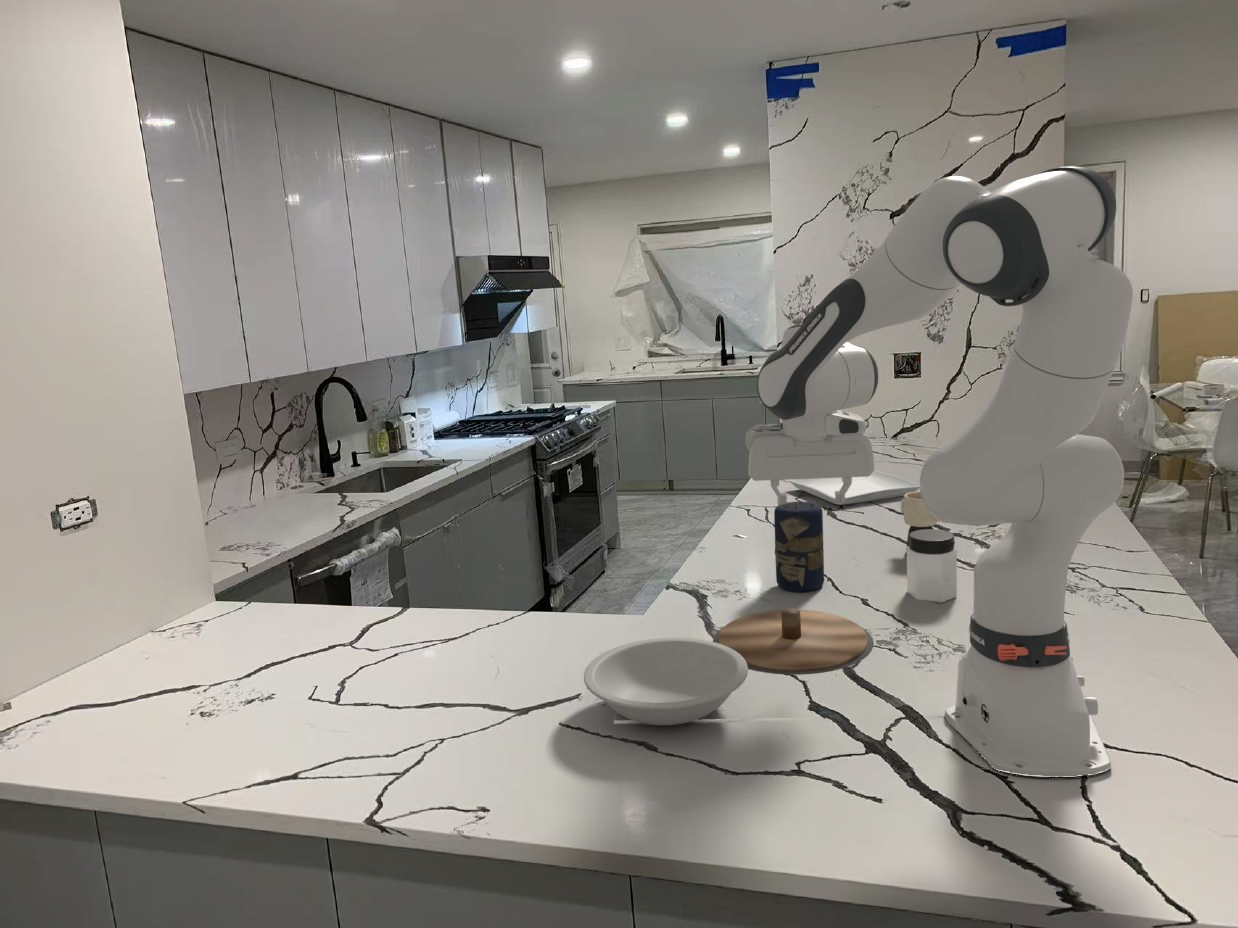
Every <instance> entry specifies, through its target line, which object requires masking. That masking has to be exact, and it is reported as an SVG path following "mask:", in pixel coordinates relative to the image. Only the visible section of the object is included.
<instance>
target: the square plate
mask: <svg viewBox="0 0 1238 928" xmlns="http://www.w3.org/2000/svg"><path fill="white" fill-rule="evenodd" d="M788 482H789V483H791V485H793V487H794V488H796V489H799V490H800V491H802V492H803V491H804V492H805V493H808V494H810V495H812V496H814V497H817V498H820V499H822V500H824V501H826V502H829V503H832V504H834V505H838V506H846V505H854V504H859V503H861V504H862V503H867V502H873V501H878V500H886V499H892V498H896V497H897V498H898V497H901V496H904V495H905V494H907V493H911V492H918V491H919V490H920V483H917V482H914V481H911V480H908V479H906V478H903V477H900V476H896V475H893V474H890V473H886V472H882V471H880V470H879V471H878V470H875V469H874V471H873V473H872V474H871V475H870V476H867V477H852V484H851V486H850V487H849V489H848V490H847V492H846V493H845V503H837V504H836V502H835V497H836V496H835V491H840V489H841V487H842V485H843V484H844V483H843V482H842V477H841V478H815V479H789V481H788Z"/></svg>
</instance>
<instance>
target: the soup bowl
mask: <svg viewBox="0 0 1238 928" xmlns="http://www.w3.org/2000/svg"><path fill="white" fill-rule="evenodd" d="M748 672H749V669H748V666H747V663H746V661H745V659H744V658H743V657H742V656H741V655H740V654H739V653H738V652H736V651H735V650H733V649H731V648H729V647H727V646H724V645H722V644H718V643H715V642H713V641H710V640H705V639H700V638H693V637H692V638H689V637H658V638H650V639H642V640H637V641H633V642H629V643H625V644H621V645H619V646H616V647H614V648H611V649H609V650H607V651H604V652H603V653H601V654H600V655H598V656H596V657H595V658H594V659H593V660H591V661H590V662H589V664H588V665H587V667H586V668H585V670H584V673H583V681H584V685H585V687H586V688H587V690H588V691H589V692H590V693H591V694H592V695H593V696H595V697H596V698H598V699H600V700H602V701H603V702H604V703H605V704H606V705H607V706H608V707H609V708H610V709H612V710H613V711H614V712H615V713H617V714H618V715H621V716H622V717H624V718H626V719H629V720H630V721H633V722H636V723H640V724H645V725H650V726H651V725H652V726H675V725H682V724H686V723H691V722H695V721H697V720H699V719H701V718H704V717H706V716H708V715H710V714H711V713H712V712H715V711H716V710H717V709H718V708H720V707H721V706H722V705H723V704H724V703H725V702H726V701H727V700H728V698H729V697H730V696H731V694H732V693H733V692H735V691H737V690H738V689H739V688H740V687H741V686H742V685H743V684H744V682H745V681H746V679H747V677H748Z"/></svg>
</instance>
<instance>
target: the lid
mask: <svg viewBox="0 0 1238 928" xmlns="http://www.w3.org/2000/svg"><path fill="white" fill-rule="evenodd" d="M861 627H862V626H861ZM861 627H860V625H859V624H858V623H856V622H854V621H852V620H850V619H848V618H845V617H843V616H840V615H837V614H833V613H828V612H824V611H819V610H810V609H809V610H807V609H797V608H792V607H788V608H783V609H777V610H776V609H774V610H773V609H772V610H766V611H760V612H756V613H751V614H748V615H744V616H741V617H738V618H735V619H734V620H732V621H730V622H729V623H727V624H726V625H724V626H722V627H721V628H722V630H721V631H720V633H719V637H718V641H719V644H722V645H724V646H727V647H729V648H731V649H733V650H735V651H736V652H738V653H739V654H740V655H741V656H742V657H743V658H744V659H745V661H746V663H747V665H749V666H753V667H757V668H762V669H767V670H775V671H813V670H821V669H827V668H832V667H836V666H839V665H842V664H845V663H848V662H850V661H852V660H854V659H856V658H857V657H859V656H860V655H861V654H862V653H863V652H864V651H865V650H866V647H867V634H866V632H865V631H864V630H863V629H862V628H863V627H862V628H861Z"/></svg>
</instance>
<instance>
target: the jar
mask: <svg viewBox="0 0 1238 928" xmlns="http://www.w3.org/2000/svg"><path fill="white" fill-rule="evenodd" d="M955 543H956V542H955V535H954V534H953V532H950V531H947V530H943V529H935V528H933V529H923V530H917V531H913V532H911V533H910V534H909V546H908V547H907V546H906V548H907V550H906V591H907V593H908V594H909V595H910V596H912V598H914V600H919V601H931V602H933V603H939V604H942V603H944V602H947V601H950V600H952V599H955V598H957V596H958V595H957V594H958V593H957V592H958V591H957V583H958V581H957V578H958V576H957V575H958V574H957V571H958V569H957V567H958V566H957V565H958V564H957V563H958V562H957V561H958V559H957V557H958V555H957V553H958V552H957V551H958V550H957V549H956V548H955Z"/></svg>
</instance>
